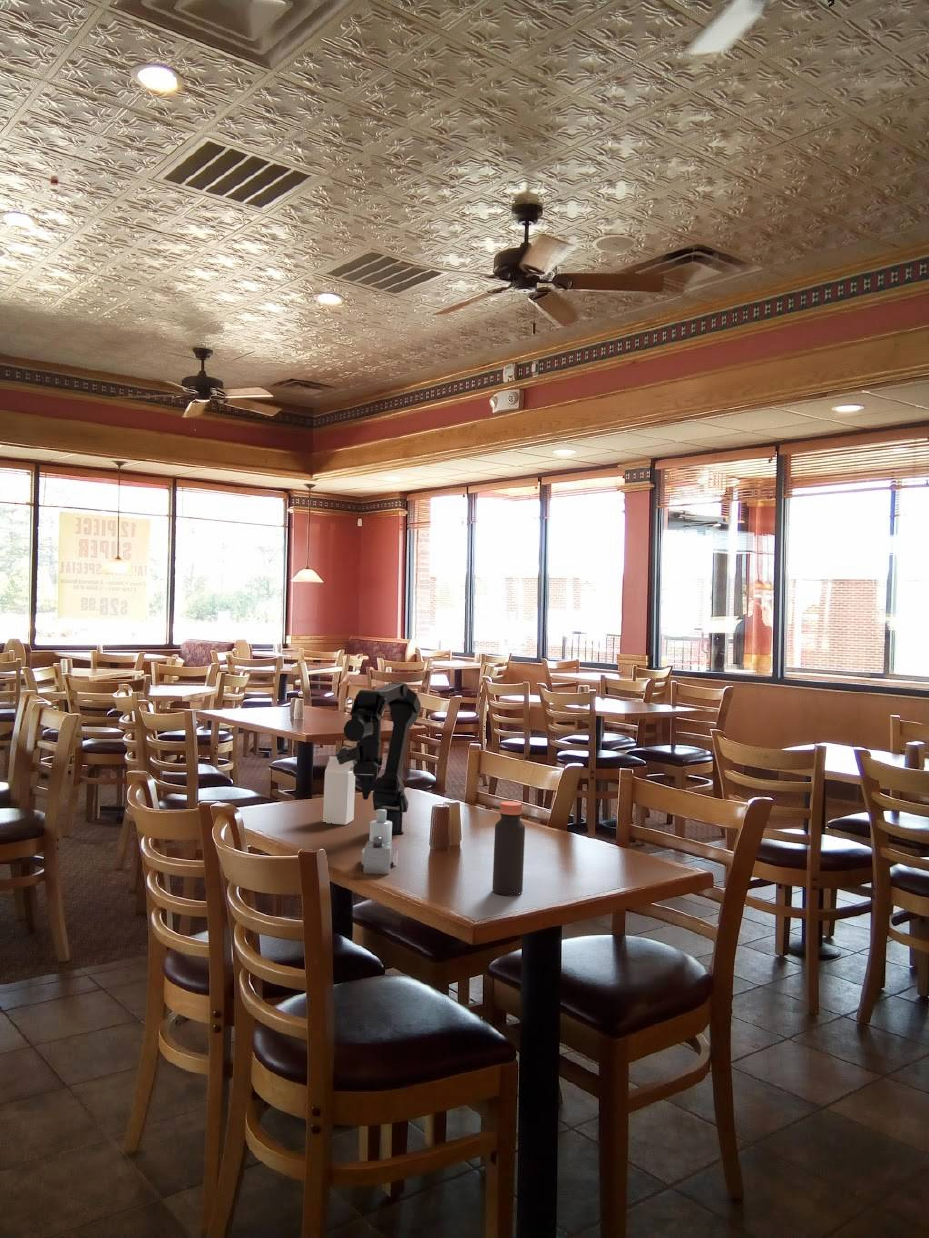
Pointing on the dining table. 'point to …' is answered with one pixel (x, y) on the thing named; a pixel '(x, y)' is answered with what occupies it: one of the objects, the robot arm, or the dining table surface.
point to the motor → (378, 856)
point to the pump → (381, 826)
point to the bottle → (509, 850)
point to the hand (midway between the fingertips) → (366, 796)
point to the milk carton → (339, 792)
